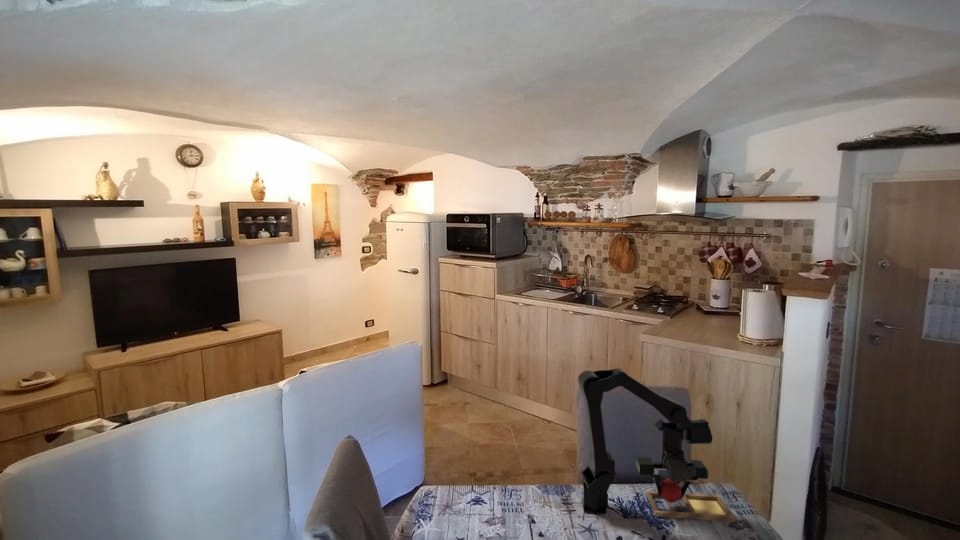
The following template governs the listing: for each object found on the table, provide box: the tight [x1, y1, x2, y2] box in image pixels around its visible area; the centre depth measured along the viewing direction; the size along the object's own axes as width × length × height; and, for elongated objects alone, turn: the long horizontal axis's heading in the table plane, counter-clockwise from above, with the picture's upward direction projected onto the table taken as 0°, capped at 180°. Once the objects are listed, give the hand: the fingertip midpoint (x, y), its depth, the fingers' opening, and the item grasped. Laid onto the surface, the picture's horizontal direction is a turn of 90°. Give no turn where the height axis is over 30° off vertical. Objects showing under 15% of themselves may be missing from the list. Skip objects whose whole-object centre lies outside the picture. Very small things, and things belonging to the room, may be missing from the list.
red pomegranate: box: [660, 477, 682, 504], centre depth 132 cm, size 6×6×8 cm
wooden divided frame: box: [645, 490, 736, 523], centre depth 132 cm, size 21×11×1 cm, turn 83°
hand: (670, 495), depth 132 cm, fingers closed on red pomegranate, 6 cm apart
